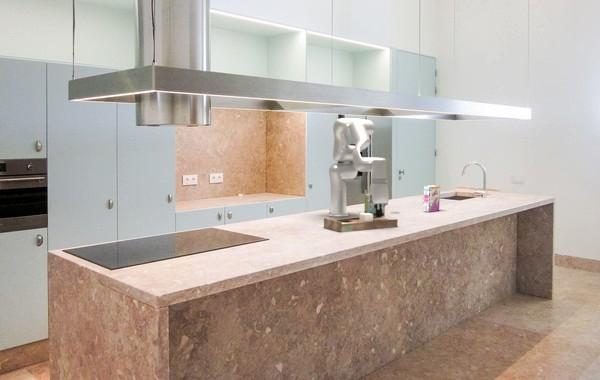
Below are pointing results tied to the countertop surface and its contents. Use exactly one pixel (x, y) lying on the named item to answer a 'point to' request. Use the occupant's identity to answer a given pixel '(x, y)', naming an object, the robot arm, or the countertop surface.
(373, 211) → the tea box
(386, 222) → the trap board
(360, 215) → the cream block
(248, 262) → the countertop surface
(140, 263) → the countertop surface
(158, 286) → the countertop surface
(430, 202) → the candy bar box
